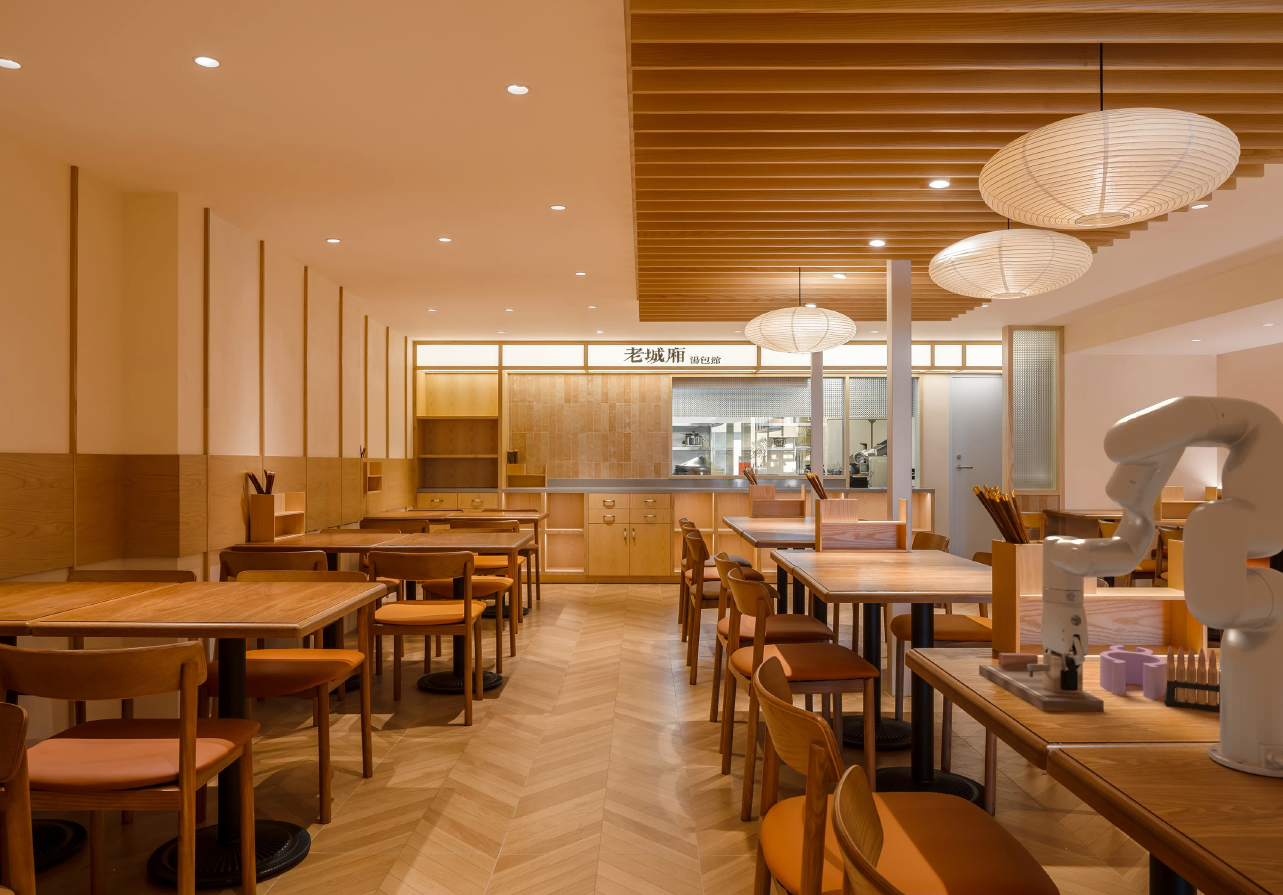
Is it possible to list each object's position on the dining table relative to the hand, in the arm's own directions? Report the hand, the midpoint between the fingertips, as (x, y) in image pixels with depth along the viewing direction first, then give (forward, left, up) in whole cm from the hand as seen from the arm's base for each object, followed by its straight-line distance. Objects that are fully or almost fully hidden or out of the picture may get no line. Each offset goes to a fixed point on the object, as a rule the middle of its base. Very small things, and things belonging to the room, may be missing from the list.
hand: (1062, 685), depth 167 cm
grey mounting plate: (+7, +2, -3) cm, 7 cm away
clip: (+11, -21, -3) cm, 24 cm away
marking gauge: (0, +2, -1) cm, 2 cm away
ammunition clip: (-5, -24, -3) cm, 25 cm away
